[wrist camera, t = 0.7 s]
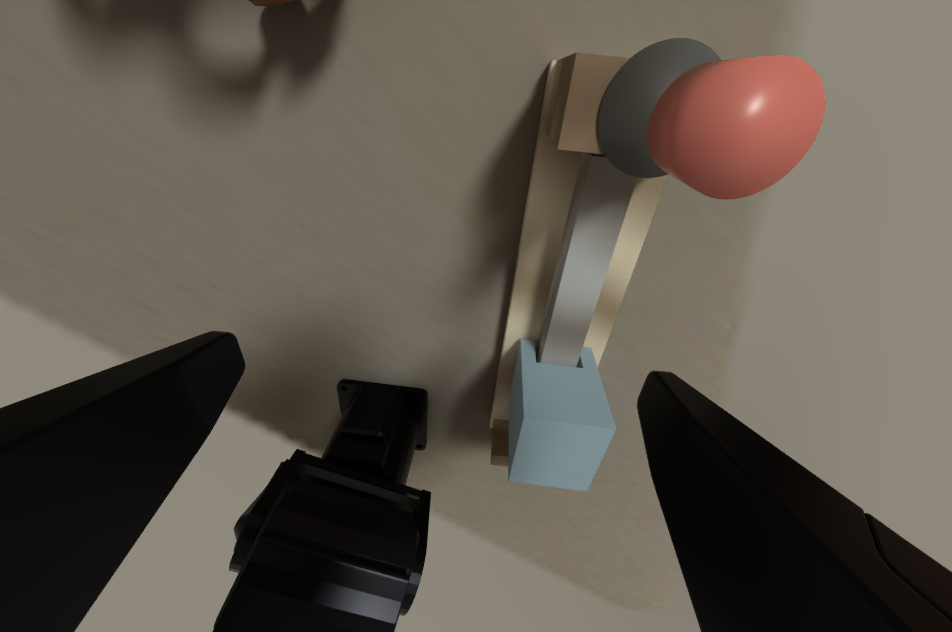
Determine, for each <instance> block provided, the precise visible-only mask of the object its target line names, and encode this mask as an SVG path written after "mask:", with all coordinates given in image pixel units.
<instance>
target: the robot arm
mask: <svg viewBox="0 0 952 632" xmlns="http://www.w3.org/2000/svg"><path fill="white" fill-rule="evenodd" d="M244 369H245V361H244V358H243V355H242V352H241V349H240V347H239V344H238V341H237V338H236V337H235V335H234V334H232V333H230V332H221V331H210V332H207V333H205V334H202V335H199V336H196V337H194V338H191V339H188V340H185V341H183V342H180V343H177V344H175V345H172V346H169V347H166V348H164V349H161V350H158V351H155V352H153V353H150V354H147V355H144V356H142V357H139V358H136V359H134V360H131V361H128V362H125V363H123V364H120V365H117V366H114V367H112V368H109V369H106V370H103V371H101V372H98V373H95V374H93V375H90V376H87V377H84V378H82V379H79V380H76V381H73V382H71V383H68V384H65V385H62V386H60V387H57V388H54V389H51V390H49V391H46V392H44V393H41V394H38V395H35V396H33V397H30V398H27V399H24V400H21V401H19V402H16V403H13V404H11V405H8V406H5V407H2V408H0V632H74V631H75V630H76V628H77V627H78V626H79V624H80V623H81V621H82V620H83V618H84V617H85V615H86V614H87V612H88V611H89V609H90V608H91V607H92V605H93V604H94V602H95V601H96V599H97V598H98V596H99V595H100V593H101V592H102V590H103V589H104V587H105V586H106V585H107V583H108V582H109V580H110V579H111V577H112V576H113V574H114V573H115V571H116V570H117V569H118V567H119V566H120V564H121V563H122V561H123V560H124V558H125V557H126V555H127V554H128V553H129V551H130V550H131V548H132V547H133V545H134V544H135V542H136V541H137V539H138V538H139V537H140V535H141V534H142V532H143V531H144V529H145V528H146V526H147V525H148V523H149V522H150V520H151V519H152V517H153V516H154V515H155V513H156V512H157V510H158V509H159V507H160V506H161V504H162V503H163V502H164V500H165V498H166V497H167V496H168V494H169V493H170V491H171V490H172V488H173V487H174V485H175V484H176V482H177V481H178V479H179V478H180V477H181V475H182V474H183V472H184V471H185V469H186V468H187V466H188V465H189V464H190V462H191V461H192V459H193V457H194V456H195V455H196V453H197V452H198V450H199V449H200V448H201V446H202V445H203V443H204V442H205V440H206V438H207V437H208V435H209V434H210V432H211V431H212V429H213V427H214V425H215V424H216V422H217V420H218V418H219V416H220V415H221V413H222V411H223V409H224V407H225V406H226V404H227V402H228V400H229V398H230V396H231V395H232V393H233V391H234V389H235V387H236V385H237V384H238V382H239V380H240V378H241V376H242V375H243V372H244ZM345 386H346V387H345ZM337 390H338V396H339V402H340V408H341V414H342V418H341V420H340V422H339V424H338V426H337V428H336V430H335V432H334V434H333V436H332V438H331V440H330V442H329V444H328V446H327V448H326V450H325V452H324V454H323V456H322V458H319V457H316V456H312V455H309V454H306V452H305V451H302V450H299V449H296V451H295V452H294V454H293V455H292V457H291V458H290V460H288V459H287V460H286V461H285V462H281V464H280V465H279V467H278V469H277V470H276V472H275V474H274V476H273V477H272V479H271V480H270V482H269V483H268V485H267V486H266V488H265V489H264V490H263V491H262V493H261V494H260V495H259V496H258V497H257V498H256V500H255V501H254V502H253V503H252V504H251V505H250V506H249V508H248V509H247V510H246V511H245V512H244V513H243V515H242V516H241V517H240V518H239V520H238V521H237V523H236V525H235V527H234V532H235V536H236V540H237V542H236V545H235V548H234V554H233V556H232V559H231V562H230V566H229V570H230V571H233V572H237V573H239V574H238V576H237V578H236V580H235V582H234V584H233V586H232V588H231V590H230V592H229V594H228V596H227V598H226V600H225V602H224V604H223V606H222V608H221V610H220V612H219V615H218V617H217V619H216V622H215V624H214V630H213V632H394V631H395V627H396V624H397V620H398V617H399V615H403V616H404V615H405V614H406V613H407V612H408V610H409V609H410V607H411V605H412V603H413V600H414V598H415V595H416V592H417V589H418V586H419V583H420V579H421V576H422V571H423V567H424V562H425V556H426V549H427V537H428V523H429V511H430V498H431V492H429V491H426V490H422V491H421V490H418V489H415V488H412V487H409V486H406V481H407V478H408V474H409V470H410V466H411V462H412V458H413V454H414V451H415V450H424V449H425V448H426V444H427V410H428V393H427V391H425V390H424V389H419V388H411V387H403V386H395V385H387V384H379V383H371V382H363V381H355V380H347V379H343V380H341V381H340V382H339V384H338V385H337ZM419 395H421V396H419ZM637 409H638V414H639V419H640V424H641V429H642V434H643V439H644V444H645V449H646V454H647V459H648V464H649V468H650V472H651V477H652V480H653V483H654V487H655V490H656V493H657V496H658V499H659V502H660V505H661V509H662V512H663V515H664V518H665V521H666V524H667V527H668V530H669V533H670V536H671V540H672V543H673V546H674V549H675V552H676V555H677V558H678V561H679V564H680V567H681V571H682V574H683V577H684V580H685V583H686V586H687V589H688V592H689V595H690V598H691V601H692V605H693V608H694V611H695V614H696V617H697V620H698V623H699V626H700V629H701V632H952V572H951V571H949V570H948V569H946V568H945V567H943V566H942V565H941V564H939V563H938V562H936V561H935V560H934V559H932V558H931V557H929V556H928V555H927V554H925V553H924V552H922V551H921V550H919V549H918V548H917V547H915V546H914V545H912V544H911V543H909V542H908V541H906V540H905V539H903V538H902V537H901V536H899V535H898V534H897V533H895V532H894V531H892V530H891V529H890V528H888V527H887V526H885V525H884V524H883V523H881V522H880V521H878V520H877V519H876V518H874V517H873V516H872V515H870V514H868V513H864V511H863V509H862V508H860V507H859V506H857V505H856V504H855V503H853V502H852V501H851V500H849V499H848V498H846V497H845V496H844V495H842V494H840V493H839V492H838V491H837V490H835V489H834V488H832V487H831V486H830V485H828V484H827V483H825V482H824V481H823V480H821V479H820V478H819V477H817V476H816V475H814V474H813V473H812V472H810V471H809V470H807V469H806V468H805V467H803V466H802V465H800V464H799V463H798V462H796V461H795V460H793V459H792V458H791V457H789V456H788V455H786V454H785V453H783V452H782V451H780V450H779V449H778V448H777V447H775V446H773V445H772V444H771V443H770V442H768V441H767V440H765V439H764V438H763V437H761V436H760V435H758V434H757V433H756V432H754V431H753V430H752V429H750V428H749V427H747V426H746V425H745V424H743V423H742V422H740V421H739V420H738V419H736V418H735V417H733V416H732V415H731V414H729V413H728V412H726V411H725V410H724V409H722V408H721V407H719V406H718V405H717V404H715V403H714V402H712V401H711V400H710V399H708V398H707V397H705V396H704V395H703V394H701V393H700V392H699V391H697V390H696V389H694V388H693V387H692V386H690V385H689V384H687V383H686V382H685V381H683V380H682V379H680V378H679V377H678V376H676V375H675V374H673V373H671V372H665V371H651V372H650V373H649V374H648V376H647V378H646V380H645V383H644V385H643V388H642V390H641V392H640V395H639V397H638V402H637Z"/></svg>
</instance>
